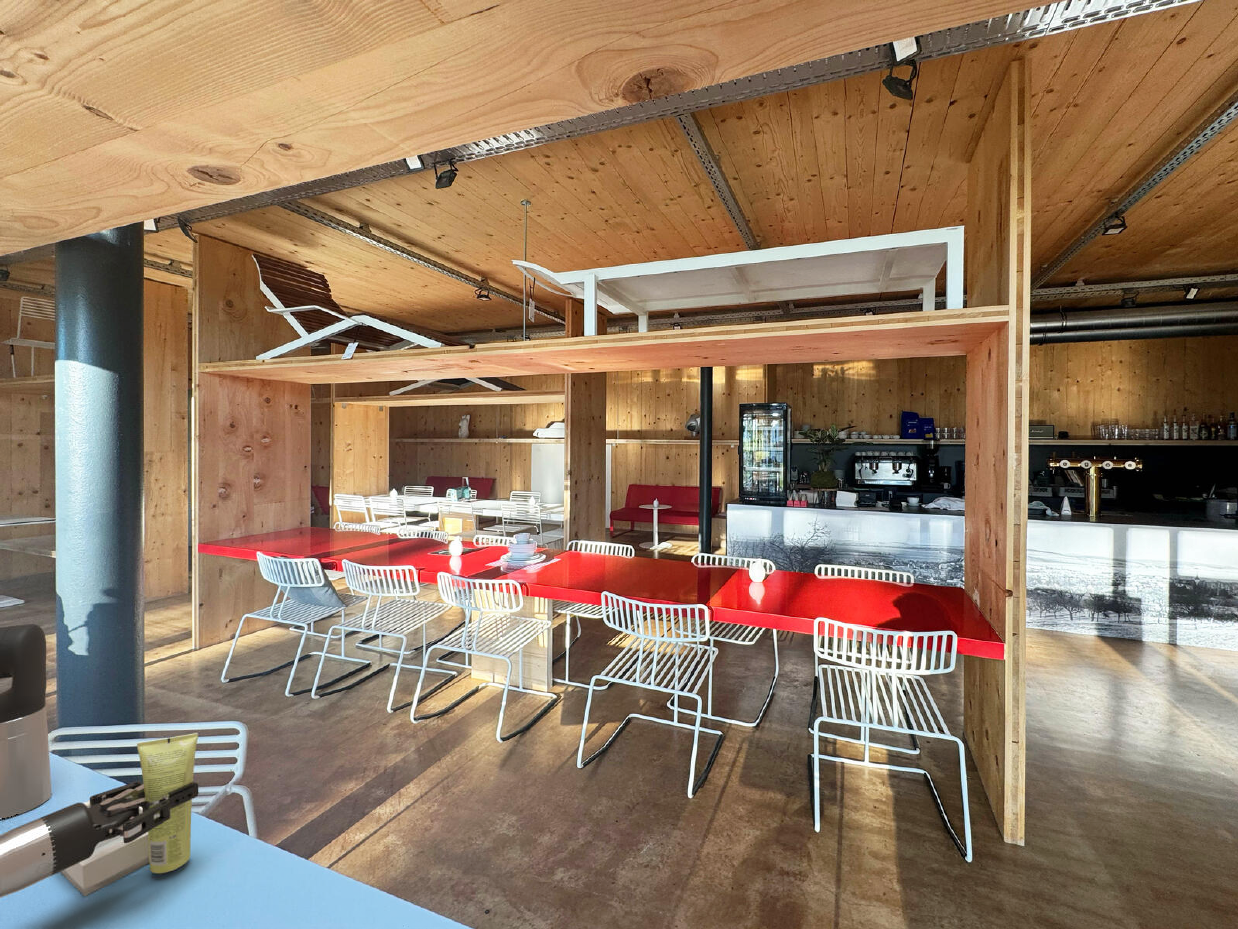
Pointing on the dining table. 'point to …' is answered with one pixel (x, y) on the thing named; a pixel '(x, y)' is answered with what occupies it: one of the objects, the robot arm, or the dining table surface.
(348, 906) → the dining table surface
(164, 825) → the tube
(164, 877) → the dining table surface
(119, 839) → the endcap
